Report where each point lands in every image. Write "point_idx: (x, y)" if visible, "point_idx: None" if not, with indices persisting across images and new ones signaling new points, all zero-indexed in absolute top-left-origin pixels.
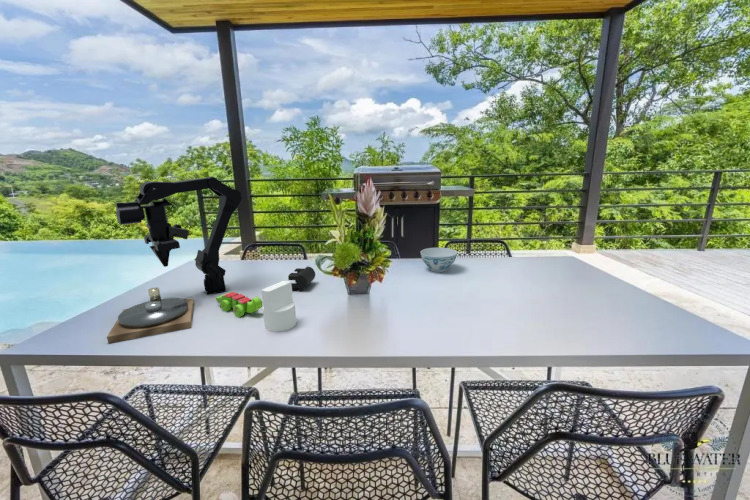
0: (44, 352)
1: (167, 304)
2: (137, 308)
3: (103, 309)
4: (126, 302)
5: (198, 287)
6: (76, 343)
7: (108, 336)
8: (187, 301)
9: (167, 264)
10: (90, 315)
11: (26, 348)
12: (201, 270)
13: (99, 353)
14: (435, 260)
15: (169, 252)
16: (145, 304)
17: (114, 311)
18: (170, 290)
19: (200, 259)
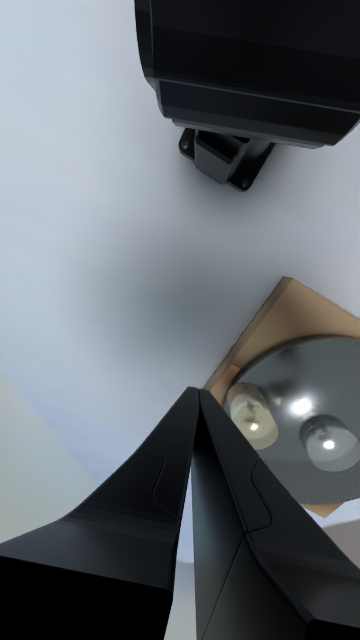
0: None
1: (323, 394)
2: (256, 450)
3: (81, 435)
4: (71, 387)
5: (117, 164)
6: None
7: (326, 516)
8: (305, 311)
9: (215, 402)
10: (101, 462)
11: (185, 555)
12: (287, 144)
13: (343, 519)
14: None
15: (335, 545)
16: (316, 466)
17: (121, 428)
18: (61, 259)
19: (340, 39)
